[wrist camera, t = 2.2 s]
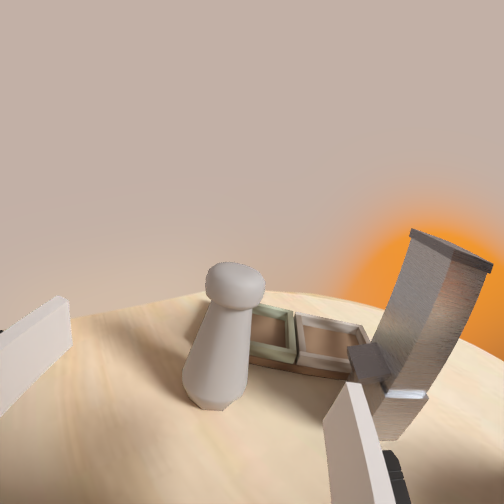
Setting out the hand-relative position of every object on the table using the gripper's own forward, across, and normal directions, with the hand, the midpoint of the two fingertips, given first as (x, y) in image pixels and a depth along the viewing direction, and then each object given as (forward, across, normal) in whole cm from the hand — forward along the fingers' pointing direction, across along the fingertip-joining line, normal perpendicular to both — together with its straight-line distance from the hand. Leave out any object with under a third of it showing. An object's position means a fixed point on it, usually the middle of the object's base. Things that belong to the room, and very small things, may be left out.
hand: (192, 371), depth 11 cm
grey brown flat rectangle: (+22, +9, -11) cm, 26 cm away
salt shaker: (+10, +1, -12) cm, 15 cm away
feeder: (+11, +16, -11) cm, 22 cm away
